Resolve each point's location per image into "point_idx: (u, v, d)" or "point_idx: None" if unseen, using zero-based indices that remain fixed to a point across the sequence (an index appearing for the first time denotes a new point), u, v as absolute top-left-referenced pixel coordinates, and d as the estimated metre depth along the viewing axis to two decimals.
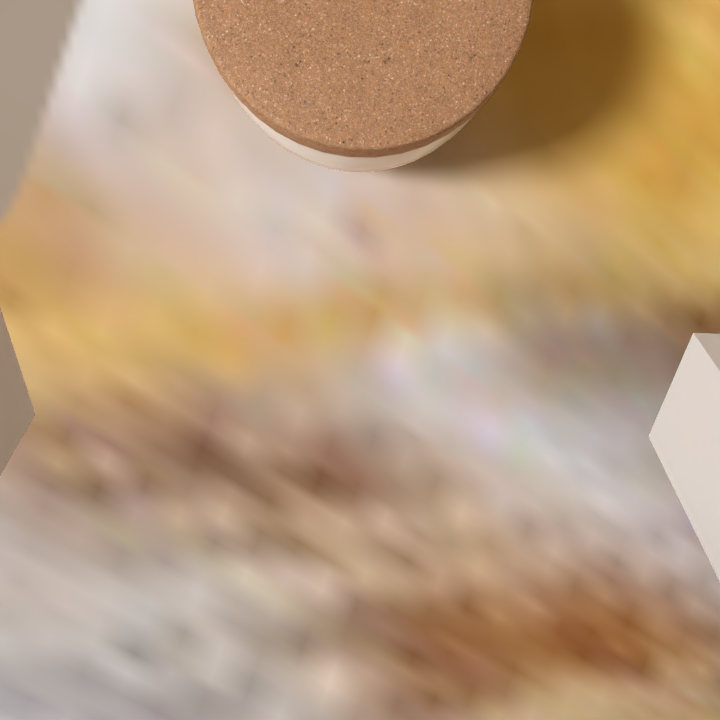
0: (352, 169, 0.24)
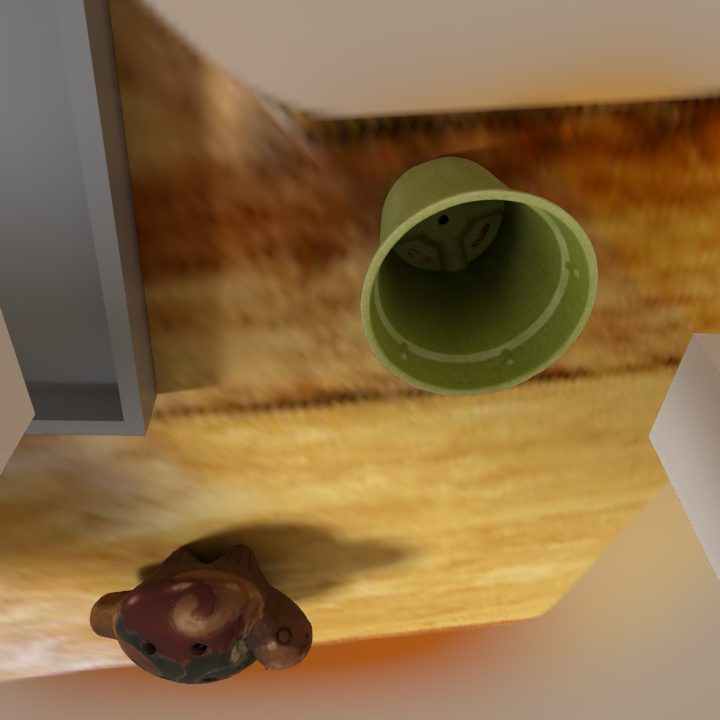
0: None
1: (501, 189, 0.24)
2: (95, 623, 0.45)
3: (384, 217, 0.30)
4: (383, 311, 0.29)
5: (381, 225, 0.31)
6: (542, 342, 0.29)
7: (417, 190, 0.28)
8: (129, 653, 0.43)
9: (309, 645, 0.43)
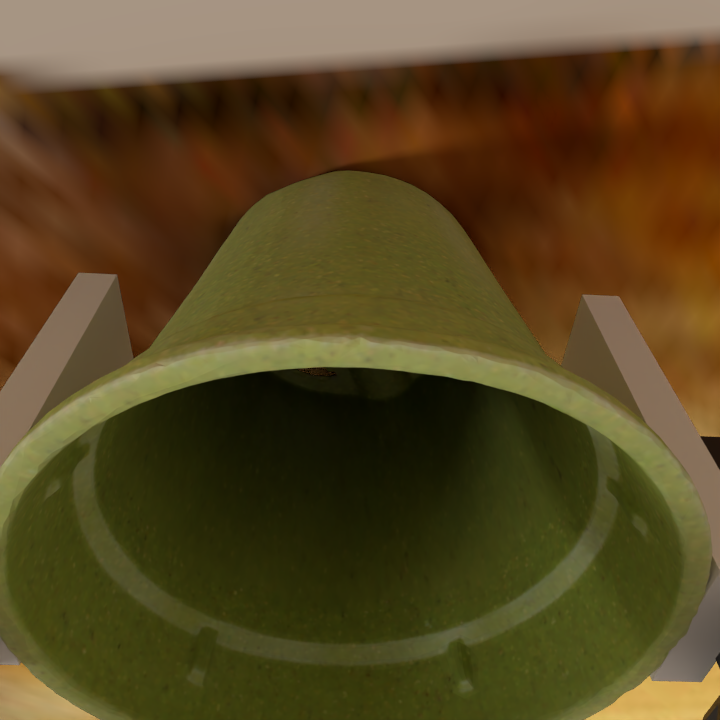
0: None
1: (358, 332, 0.06)
2: None
3: None
4: (139, 570, 0.11)
5: None
6: (545, 654, 0.11)
7: (219, 269, 0.11)
8: None
9: None
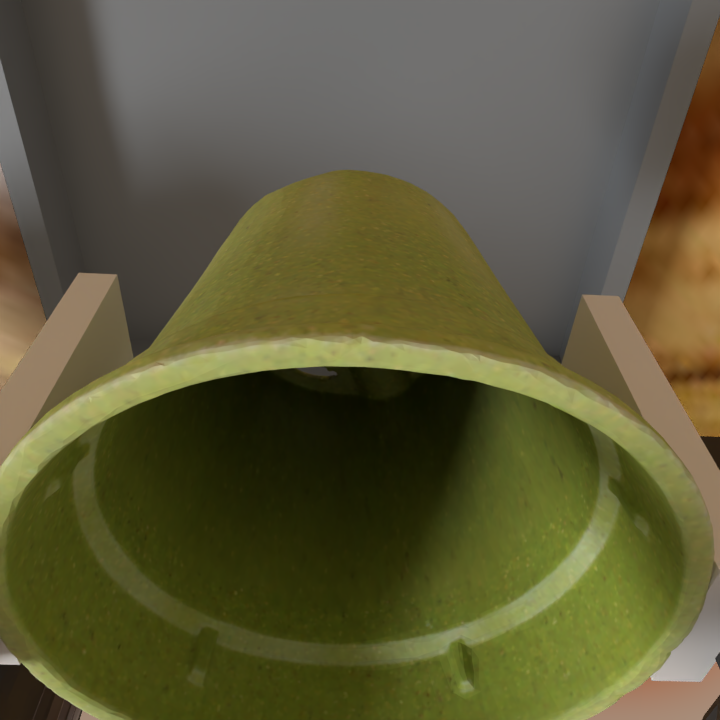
0: None
1: (360, 331, 0.06)
2: None
3: None
4: (139, 570, 0.11)
5: None
6: (547, 655, 0.11)
7: (219, 268, 0.11)
8: None
9: None
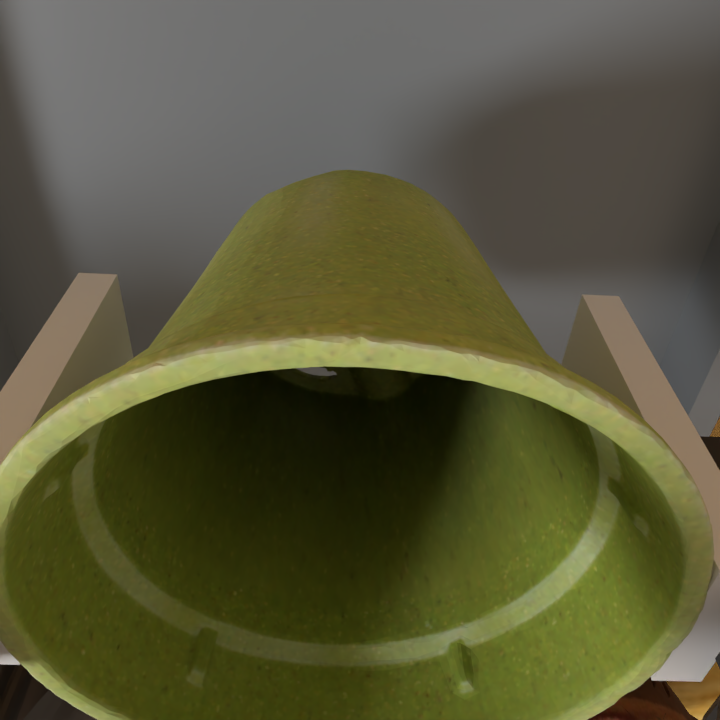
0: None
1: (359, 331, 0.06)
2: None
3: None
4: (139, 570, 0.11)
5: None
6: (546, 655, 0.11)
7: (218, 268, 0.11)
8: None
9: None
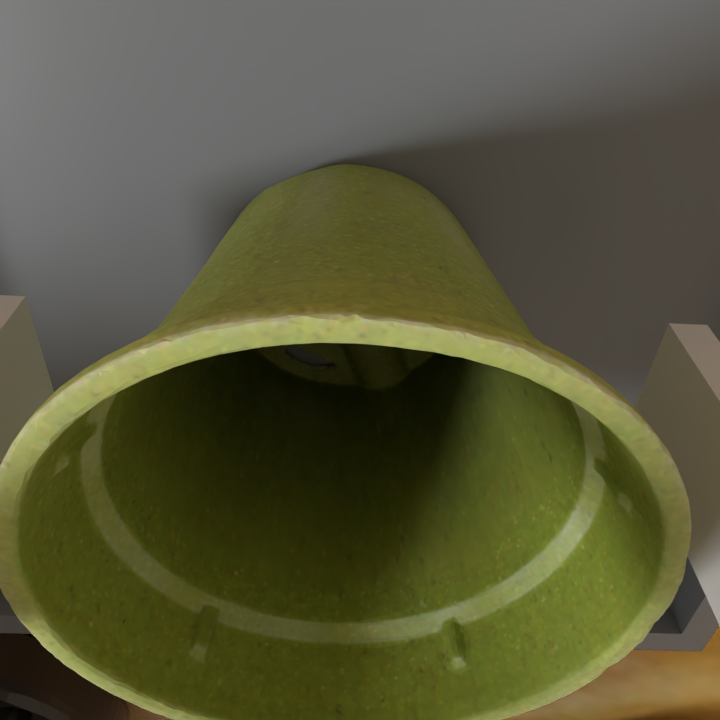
0: None
1: (353, 309, 0.07)
2: None
3: None
4: (143, 548, 0.12)
5: None
6: (536, 631, 0.12)
7: (221, 257, 0.11)
8: None
9: None
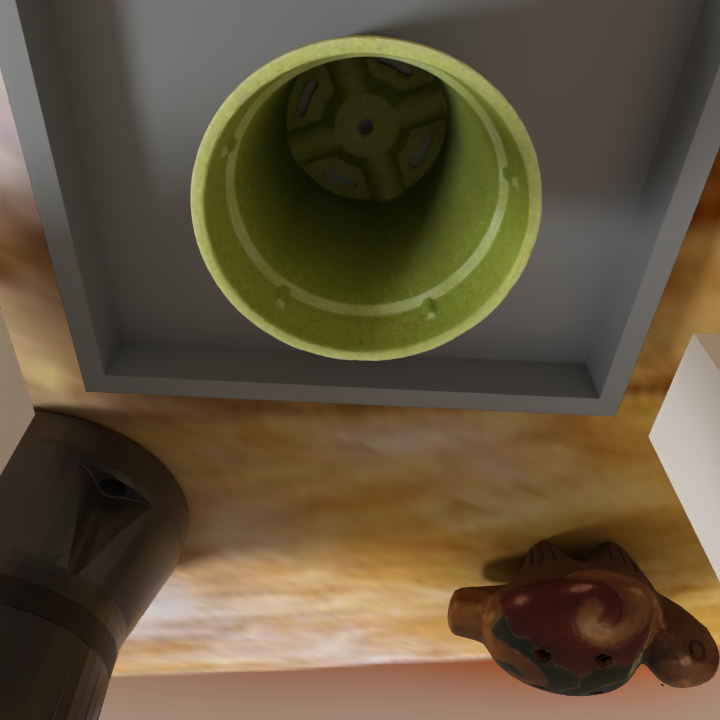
0: None
1: (375, 36, 0.15)
2: (457, 621, 0.40)
3: None
4: (250, 240, 0.21)
5: None
6: (474, 286, 0.20)
7: None
8: (509, 658, 0.38)
9: (718, 662, 0.38)
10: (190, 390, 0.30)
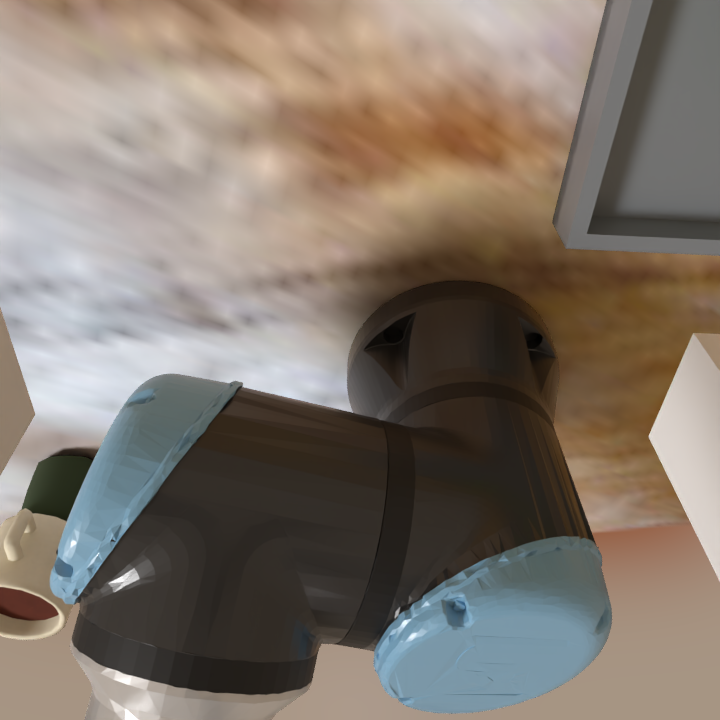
0: None
1: None
2: None
3: None
4: None
5: None
6: None
7: None
8: None
9: None
10: (645, 247, 0.40)
